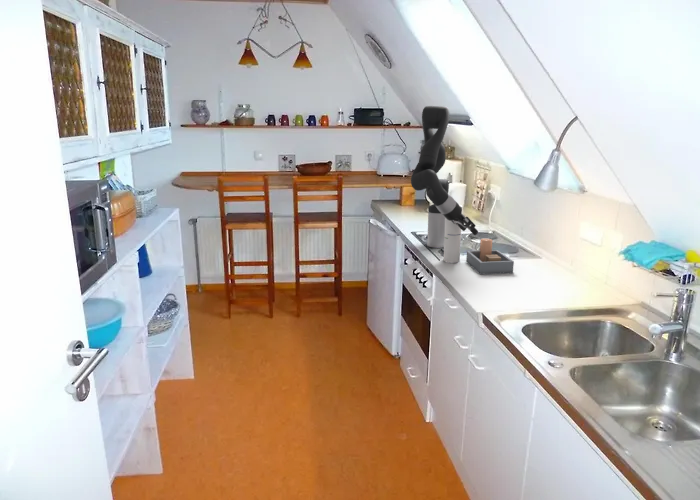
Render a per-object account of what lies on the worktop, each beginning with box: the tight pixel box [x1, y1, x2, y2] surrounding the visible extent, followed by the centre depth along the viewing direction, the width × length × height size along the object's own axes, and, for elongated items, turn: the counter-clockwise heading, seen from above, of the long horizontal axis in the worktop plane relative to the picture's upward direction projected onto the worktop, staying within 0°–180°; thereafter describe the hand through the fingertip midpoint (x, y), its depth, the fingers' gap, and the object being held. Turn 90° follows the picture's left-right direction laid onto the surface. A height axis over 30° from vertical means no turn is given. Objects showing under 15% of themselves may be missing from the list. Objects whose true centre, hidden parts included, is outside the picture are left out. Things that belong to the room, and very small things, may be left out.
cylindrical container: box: [443, 204, 463, 264], centre depth 219 cm, size 7×7×25 cm
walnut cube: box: [485, 255, 501, 262], centre depth 207 cm, size 5×5×5 cm
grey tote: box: [465, 249, 515, 275], centre depth 212 cm, size 18×14×5 cm
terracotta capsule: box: [479, 238, 493, 262], centre depth 215 cm, size 5×5×10 cm
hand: (470, 231), depth 209 cm, fingers open, 8 cm apart
